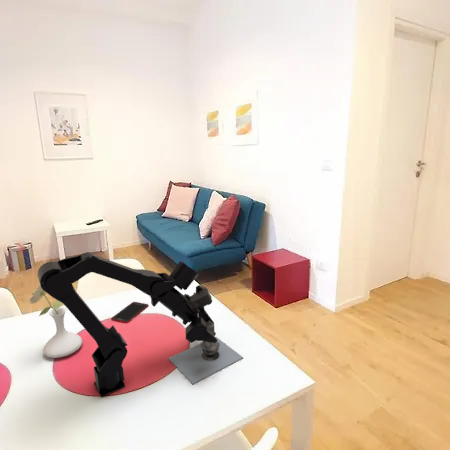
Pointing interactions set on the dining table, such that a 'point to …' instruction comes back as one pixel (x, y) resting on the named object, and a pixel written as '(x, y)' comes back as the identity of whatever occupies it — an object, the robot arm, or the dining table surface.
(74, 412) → the dining table surface
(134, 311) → the cell phone
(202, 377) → the mat
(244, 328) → the dining table surface
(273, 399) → the dining table surface
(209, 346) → the dark grey chess piece
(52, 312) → the flower in vase
